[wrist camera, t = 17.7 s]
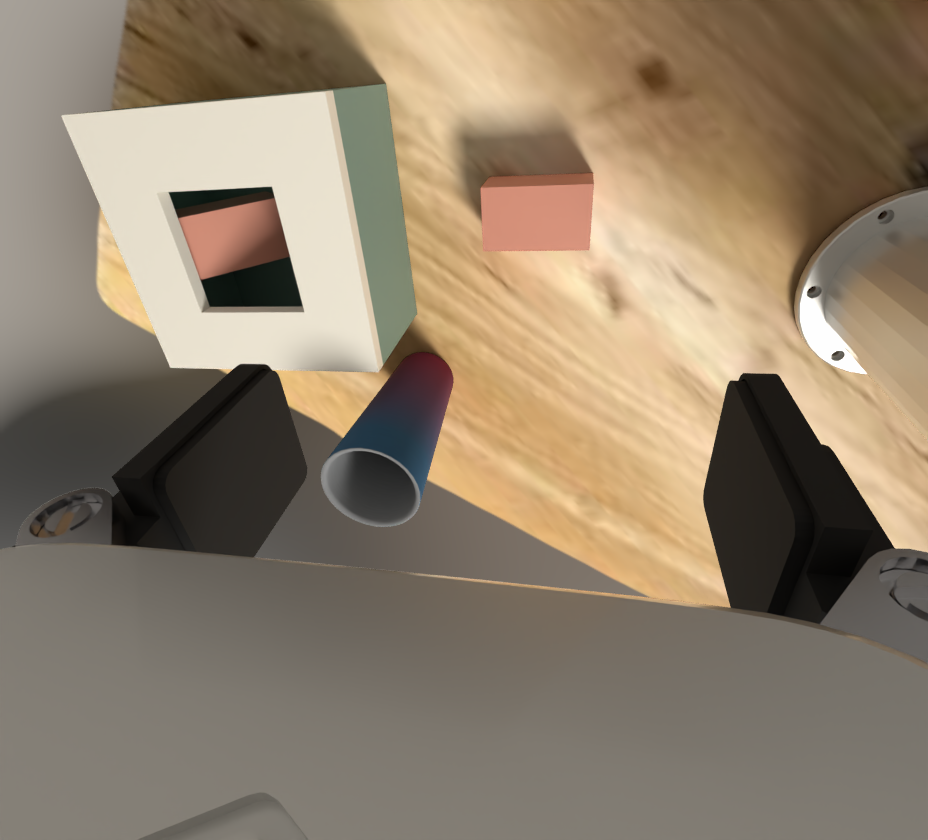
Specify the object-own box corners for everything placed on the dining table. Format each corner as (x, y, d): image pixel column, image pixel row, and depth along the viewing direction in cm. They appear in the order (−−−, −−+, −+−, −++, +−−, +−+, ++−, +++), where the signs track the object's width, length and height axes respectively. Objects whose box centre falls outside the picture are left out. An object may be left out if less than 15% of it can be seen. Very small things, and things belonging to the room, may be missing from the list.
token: (592, 172, 35) (593, 184, 32) (588, 233, 38) (589, 250, 34) (489, 176, 37) (480, 187, 34) (491, 235, 39) (483, 251, 36)
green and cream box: (386, 83, 35) (325, 91, 27) (417, 313, 43) (378, 372, 35) (173, 103, 38) (61, 115, 30) (242, 313, 47) (170, 367, 38)
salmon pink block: (282, 196, 37) (176, 218, 34) (298, 254, 39) (200, 280, 36) (265, 191, 39) (166, 211, 36) (281, 245, 42) (188, 268, 39)
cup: (377, 350, 46) (303, 454, 34) (450, 335, 44) (399, 441, 32) (403, 414, 49) (344, 530, 37) (472, 404, 47) (433, 523, 35)
